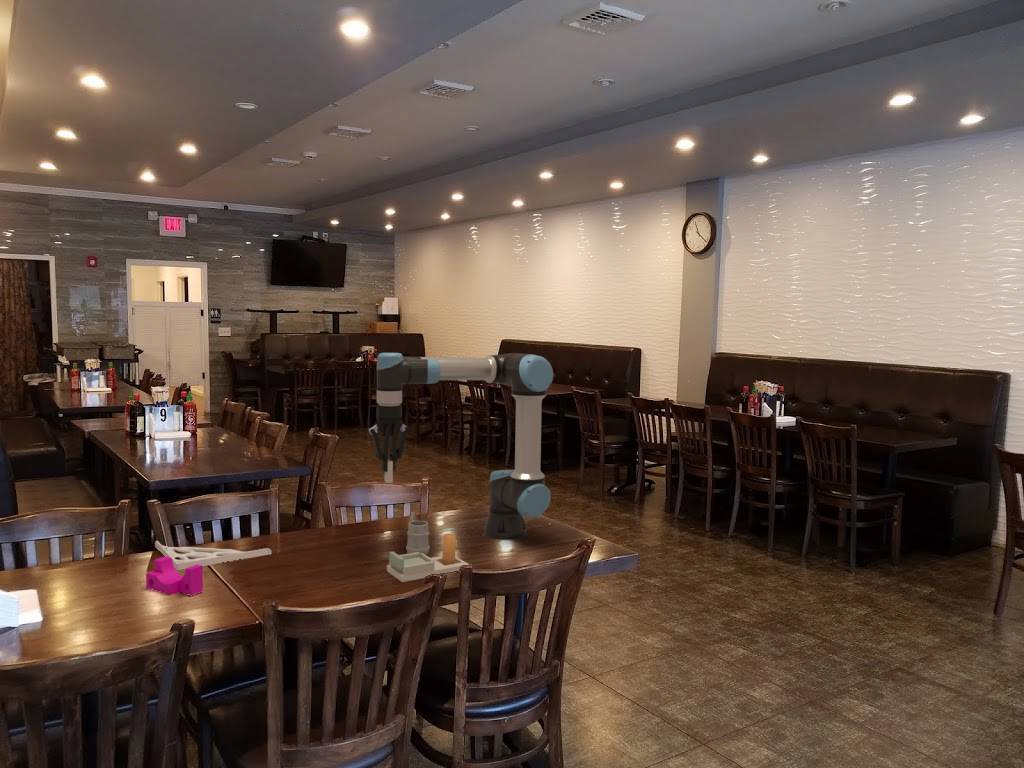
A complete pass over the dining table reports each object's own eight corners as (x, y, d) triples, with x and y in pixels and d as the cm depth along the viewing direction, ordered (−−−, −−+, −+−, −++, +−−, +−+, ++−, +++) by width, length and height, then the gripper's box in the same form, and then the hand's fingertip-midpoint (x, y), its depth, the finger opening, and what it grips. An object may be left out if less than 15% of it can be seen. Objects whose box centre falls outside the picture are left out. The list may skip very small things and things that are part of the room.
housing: (451, 560, 237) (452, 546, 236) (468, 570, 228) (469, 556, 227) (386, 571, 225) (387, 557, 224) (402, 583, 216) (402, 567, 215)
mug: (410, 557, 238) (411, 520, 237) (398, 547, 249) (399, 511, 248) (433, 554, 242) (433, 518, 241) (420, 544, 252) (421, 509, 251)
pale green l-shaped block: (419, 560, 229) (419, 547, 228) (430, 568, 222) (430, 554, 222) (389, 565, 223) (389, 552, 223) (400, 573, 217) (400, 559, 216)
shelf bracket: (155, 548, 245) (155, 540, 244) (243, 534, 262) (243, 527, 261) (177, 573, 222) (176, 564, 222) (271, 556, 239) (271, 547, 239)
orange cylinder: (451, 564, 233) (452, 533, 232) (457, 568, 229) (458, 536, 229) (439, 566, 231) (440, 534, 230) (445, 570, 227) (446, 538, 226)
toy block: (146, 588, 207) (145, 562, 206) (166, 582, 213) (165, 556, 212) (183, 599, 200) (182, 572, 200) (202, 592, 206) (202, 565, 205)
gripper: (404, 402, 232) (403, 477, 234) (364, 403, 224) (363, 481, 227) (414, 404, 225) (413, 482, 227) (373, 406, 218) (373, 486, 220)
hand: (388, 481), depth 227 cm, fingers closed
